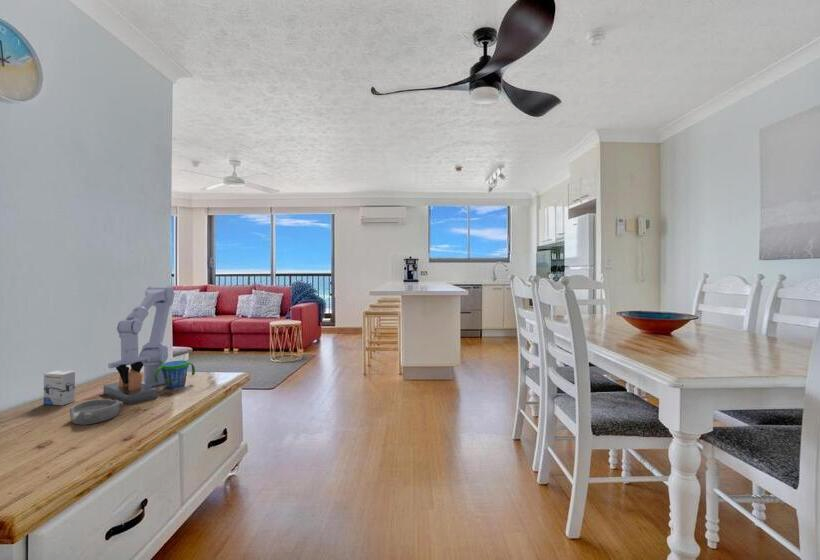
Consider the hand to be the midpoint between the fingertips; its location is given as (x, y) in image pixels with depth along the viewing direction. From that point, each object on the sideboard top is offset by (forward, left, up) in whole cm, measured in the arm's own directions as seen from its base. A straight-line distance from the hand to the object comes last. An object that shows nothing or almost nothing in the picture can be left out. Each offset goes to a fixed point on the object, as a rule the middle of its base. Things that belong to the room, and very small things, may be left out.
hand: (130, 382), depth 160 cm
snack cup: (-17, +1, -6) cm, 18 cm away
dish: (+17, +18, -6) cm, 25 cm away
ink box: (+19, -12, -6) cm, 23 cm away
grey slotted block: (0, 0, -5) cm, 5 cm away
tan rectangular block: (0, 0, -2) cm, 3 cm away
